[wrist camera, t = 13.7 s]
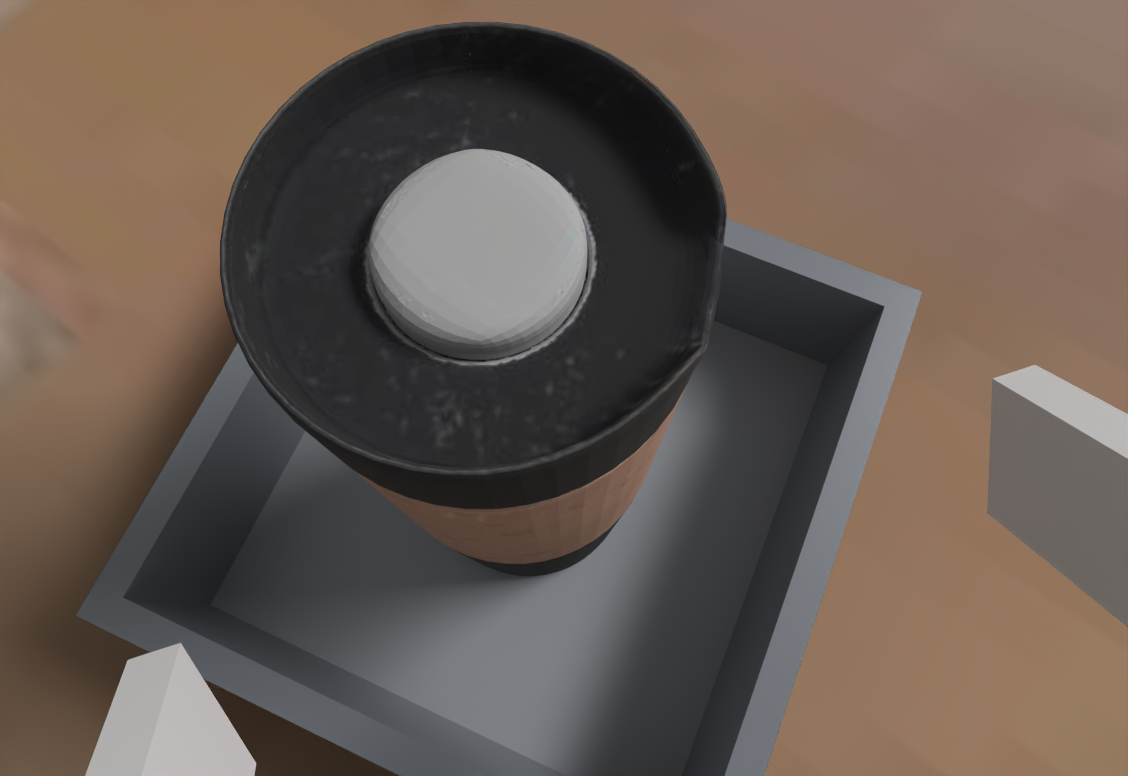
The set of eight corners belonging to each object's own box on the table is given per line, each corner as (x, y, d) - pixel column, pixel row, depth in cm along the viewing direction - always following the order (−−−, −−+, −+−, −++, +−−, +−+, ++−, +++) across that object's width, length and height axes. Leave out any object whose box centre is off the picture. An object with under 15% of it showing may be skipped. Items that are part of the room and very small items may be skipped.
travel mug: (394, 456, 31) (118, 162, 12) (558, 353, 32) (548, -62, 13) (500, 626, 29) (374, 607, 10) (669, 509, 30) (848, 292, 11)
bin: (185, 620, 30) (75, 615, 23) (421, 193, 35) (387, 91, 29) (677, 859, 28) (713, 930, 21) (850, 361, 33) (922, 292, 26)
